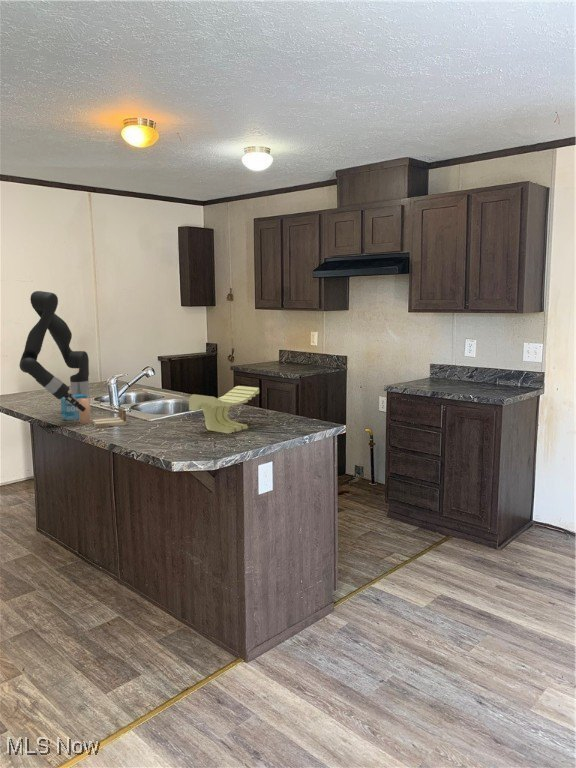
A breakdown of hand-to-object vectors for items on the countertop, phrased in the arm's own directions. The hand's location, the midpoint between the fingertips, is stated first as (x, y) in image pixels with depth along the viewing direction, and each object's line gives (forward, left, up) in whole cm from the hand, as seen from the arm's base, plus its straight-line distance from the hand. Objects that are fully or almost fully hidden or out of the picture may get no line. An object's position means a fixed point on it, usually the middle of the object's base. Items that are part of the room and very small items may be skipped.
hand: (83, 408), depth 289 cm
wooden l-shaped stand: (+10, +10, -7) cm, 16 cm away
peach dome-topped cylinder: (0, 0, -7) cm, 7 cm away
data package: (-13, -3, -7) cm, 15 cm away
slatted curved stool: (+48, +56, -7) cm, 74 cm away
